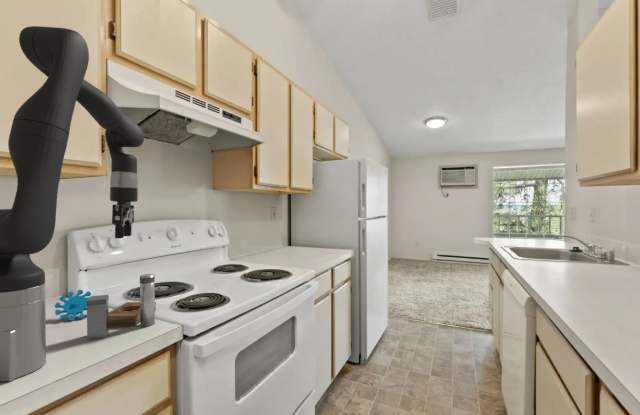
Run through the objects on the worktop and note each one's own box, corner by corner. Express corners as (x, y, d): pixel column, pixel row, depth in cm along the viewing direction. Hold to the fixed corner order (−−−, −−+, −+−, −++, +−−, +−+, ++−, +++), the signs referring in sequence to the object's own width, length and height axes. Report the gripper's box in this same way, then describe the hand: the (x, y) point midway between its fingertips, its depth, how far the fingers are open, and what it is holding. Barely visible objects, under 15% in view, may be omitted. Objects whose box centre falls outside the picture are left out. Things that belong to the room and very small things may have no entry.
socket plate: (134, 326, 86) (134, 315, 86) (101, 326, 86) (101, 316, 86) (155, 311, 98) (155, 301, 98) (126, 311, 98) (126, 302, 98)
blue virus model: (48, 319, 87) (60, 288, 93) (51, 329, 90) (62, 298, 97) (95, 318, 92) (104, 288, 98) (96, 327, 95) (104, 298, 102)
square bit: (106, 337, 79) (106, 298, 79) (87, 340, 77) (86, 300, 77) (109, 331, 83) (108, 294, 83) (90, 334, 81) (89, 296, 81)
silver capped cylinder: (151, 327, 86) (150, 276, 85) (137, 327, 85) (136, 277, 85) (157, 321, 89) (157, 273, 89) (144, 322, 89) (143, 274, 89)
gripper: (131, 185, 94) (130, 238, 93) (142, 188, 107) (142, 235, 107) (102, 184, 91) (101, 239, 91) (117, 188, 105) (117, 235, 105)
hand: (123, 237), depth 99 cm, fingers open, 8 cm apart
